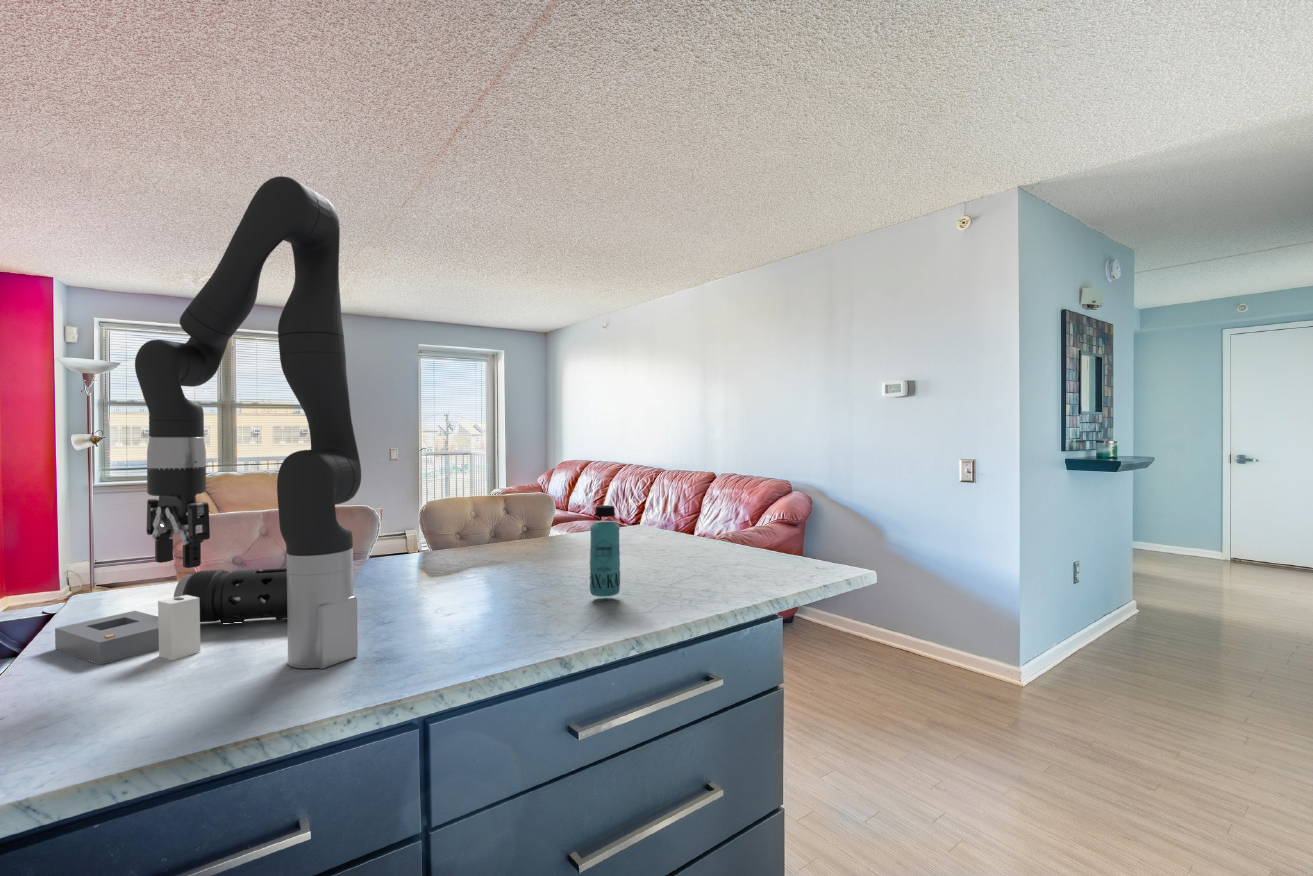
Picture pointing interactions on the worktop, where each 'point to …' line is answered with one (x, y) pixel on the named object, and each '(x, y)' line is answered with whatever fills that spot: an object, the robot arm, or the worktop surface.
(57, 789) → the worktop surface
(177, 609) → the block
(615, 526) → the beverage bottle
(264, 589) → the muzzle brake
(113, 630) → the outlet block
